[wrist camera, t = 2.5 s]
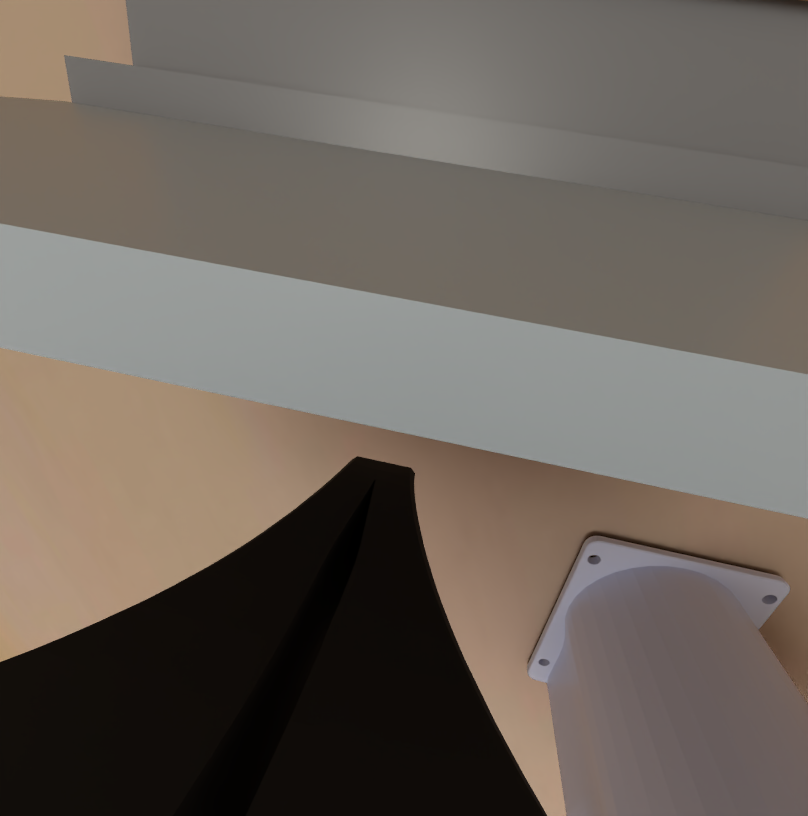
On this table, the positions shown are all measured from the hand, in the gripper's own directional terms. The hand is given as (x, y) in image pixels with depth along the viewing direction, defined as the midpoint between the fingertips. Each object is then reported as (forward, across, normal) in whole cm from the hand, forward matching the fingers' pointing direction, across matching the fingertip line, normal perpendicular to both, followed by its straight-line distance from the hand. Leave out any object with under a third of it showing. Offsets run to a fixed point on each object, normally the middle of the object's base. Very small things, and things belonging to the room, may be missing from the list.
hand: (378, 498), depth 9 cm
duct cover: (-1, 0, -6) cm, 6 cm away
